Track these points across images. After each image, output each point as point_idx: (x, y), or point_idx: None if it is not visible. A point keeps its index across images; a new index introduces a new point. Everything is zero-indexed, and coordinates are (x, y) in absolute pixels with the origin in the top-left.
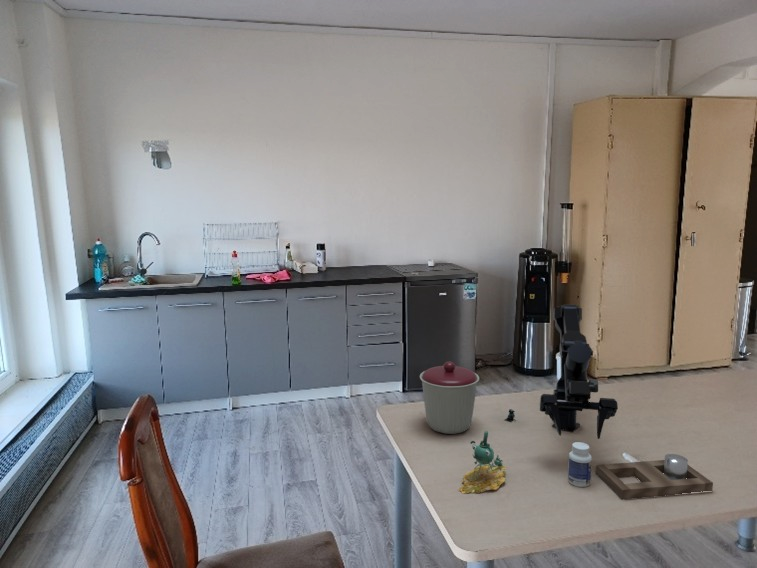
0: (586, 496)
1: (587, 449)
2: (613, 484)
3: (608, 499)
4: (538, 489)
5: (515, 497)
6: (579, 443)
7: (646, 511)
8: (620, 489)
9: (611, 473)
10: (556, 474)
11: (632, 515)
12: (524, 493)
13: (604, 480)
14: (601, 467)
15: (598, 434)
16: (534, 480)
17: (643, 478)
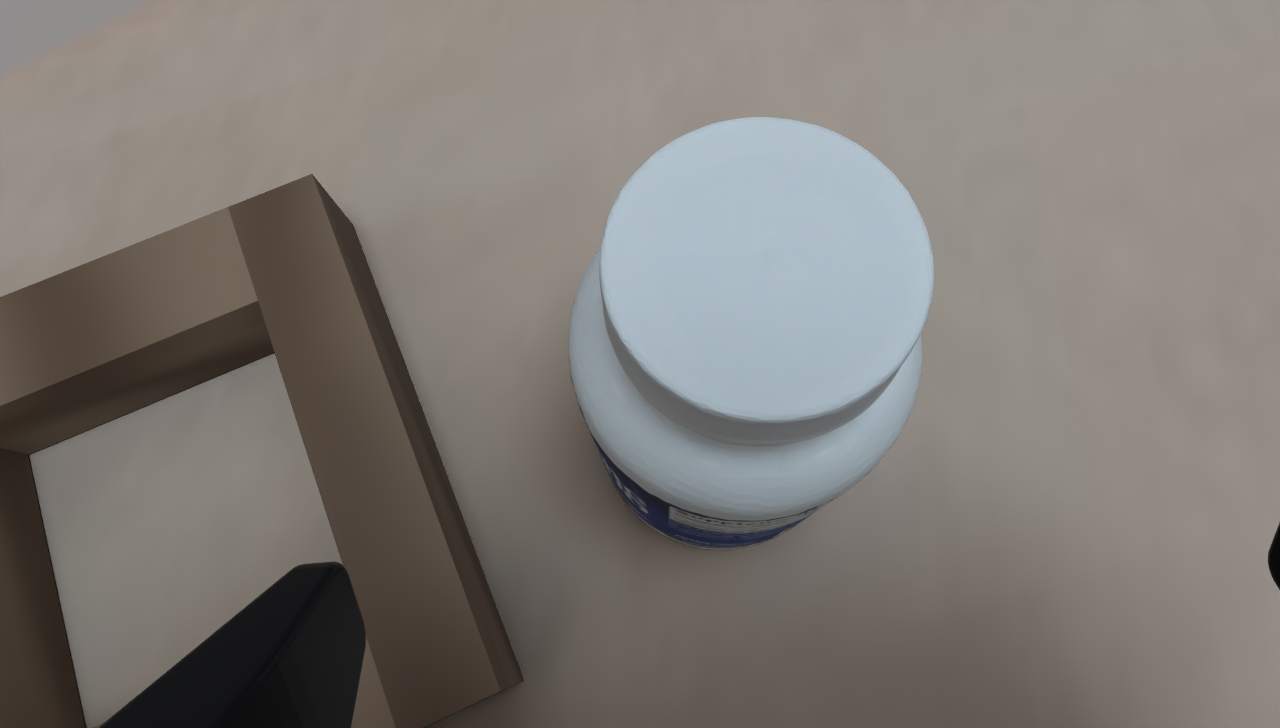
0: None
1: (641, 173)
2: (375, 328)
3: (469, 200)
4: (1087, 188)
5: (1248, 16)
6: (793, 344)
7: (196, 112)
8: (328, 210)
9: (347, 499)
10: (958, 537)
11: (324, 32)
12: (1192, 92)
13: (450, 498)
14: (442, 632)
15: (301, 598)
16: (1161, 339)
17: (2, 578)
